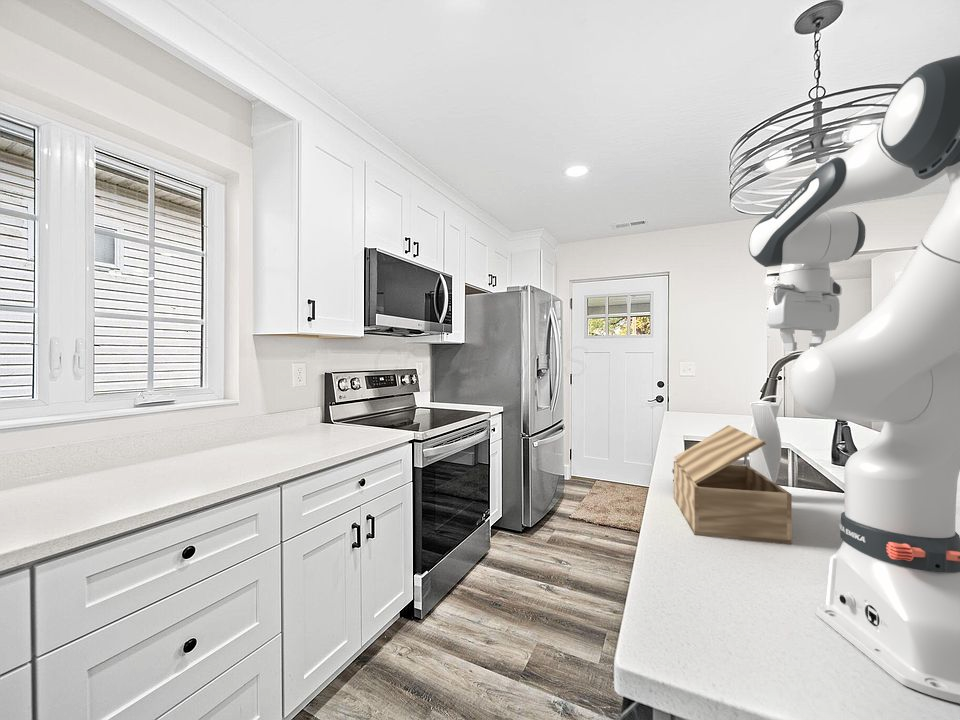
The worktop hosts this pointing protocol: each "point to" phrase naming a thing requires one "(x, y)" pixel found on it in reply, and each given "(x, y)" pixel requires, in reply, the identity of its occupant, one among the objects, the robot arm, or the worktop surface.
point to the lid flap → (717, 452)
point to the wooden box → (735, 505)
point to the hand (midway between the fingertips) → (803, 351)
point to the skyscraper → (765, 439)
